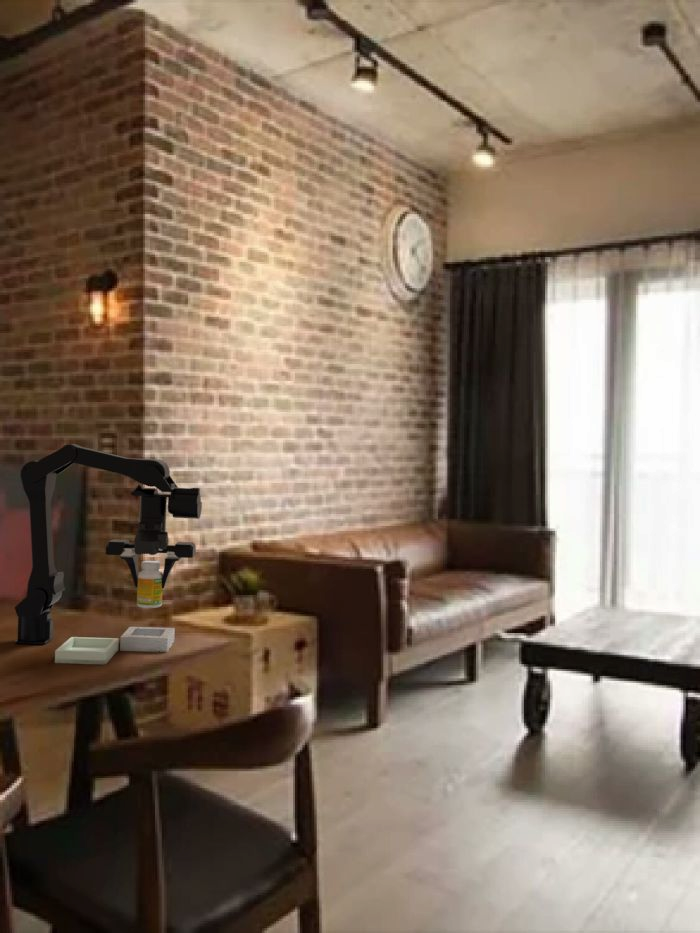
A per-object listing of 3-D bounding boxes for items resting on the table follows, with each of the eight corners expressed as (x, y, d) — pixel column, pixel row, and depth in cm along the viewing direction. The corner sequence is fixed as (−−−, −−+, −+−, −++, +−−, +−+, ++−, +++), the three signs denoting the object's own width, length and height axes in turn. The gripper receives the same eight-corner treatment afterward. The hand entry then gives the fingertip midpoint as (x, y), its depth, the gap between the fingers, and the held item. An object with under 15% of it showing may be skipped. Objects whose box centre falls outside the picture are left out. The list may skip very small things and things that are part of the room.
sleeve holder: (120, 650, 186) (120, 636, 186) (129, 639, 196) (130, 626, 196) (167, 652, 187) (167, 638, 186) (174, 641, 197) (174, 628, 196)
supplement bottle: (155, 609, 188) (157, 564, 188) (132, 607, 189) (134, 562, 189) (165, 604, 193) (167, 561, 193) (143, 602, 194) (144, 559, 194)
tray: (54, 663, 174) (55, 650, 174) (70, 648, 186) (71, 636, 186) (105, 664, 175) (105, 652, 174) (118, 649, 187) (118, 638, 186)
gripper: (101, 518, 182) (98, 592, 182) (190, 522, 183) (187, 595, 183) (112, 513, 193) (110, 583, 194) (197, 517, 194) (194, 586, 195)
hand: (149, 587), depth 191 cm, fingers closed on supplement bottle, 5 cm apart
